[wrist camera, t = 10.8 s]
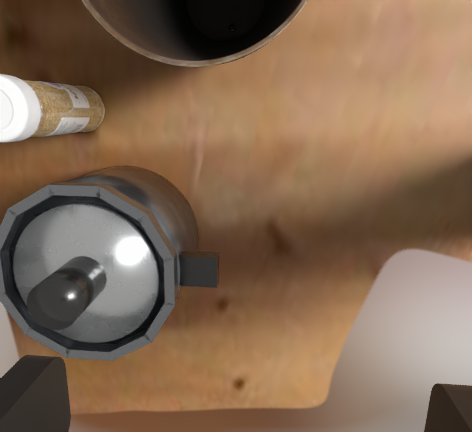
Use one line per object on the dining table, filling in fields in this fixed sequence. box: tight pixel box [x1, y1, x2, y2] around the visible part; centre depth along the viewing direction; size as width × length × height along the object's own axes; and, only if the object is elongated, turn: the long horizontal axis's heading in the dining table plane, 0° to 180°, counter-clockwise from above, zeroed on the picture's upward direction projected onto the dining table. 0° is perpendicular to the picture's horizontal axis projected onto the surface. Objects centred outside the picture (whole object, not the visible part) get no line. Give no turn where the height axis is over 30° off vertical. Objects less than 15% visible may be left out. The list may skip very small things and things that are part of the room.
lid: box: [13, 202, 161, 343], centre depth 30 cm, size 12×12×6 cm
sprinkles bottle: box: [0, 74, 105, 142], centre depth 33 cm, size 5×5×14 cm
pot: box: [0, 166, 219, 361], centre depth 37 cm, size 21×15×11 cm
